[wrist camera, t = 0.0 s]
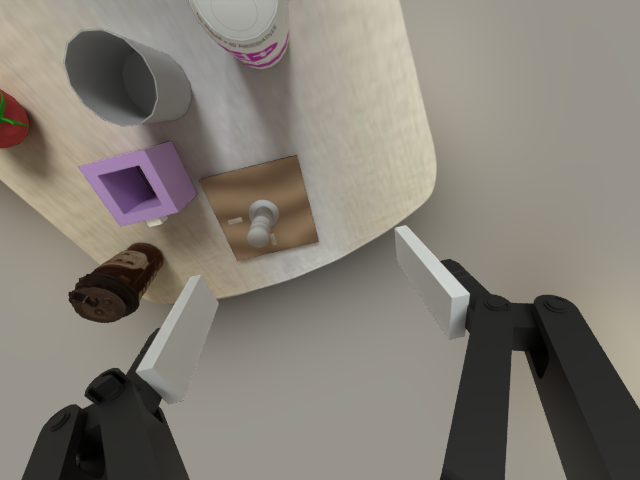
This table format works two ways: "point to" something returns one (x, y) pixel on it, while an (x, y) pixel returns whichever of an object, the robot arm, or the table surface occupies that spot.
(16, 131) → the tomato
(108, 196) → the purple planter box
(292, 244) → the post board
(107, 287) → the coffee cup
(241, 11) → the supplement can
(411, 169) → the table surface
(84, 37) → the cup
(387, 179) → the table surface
